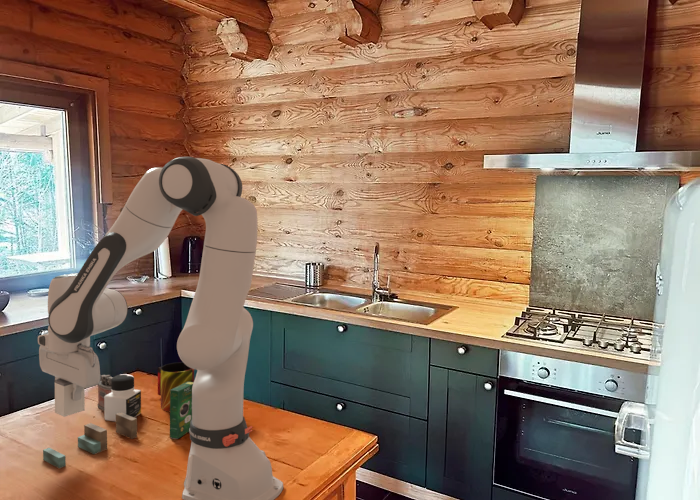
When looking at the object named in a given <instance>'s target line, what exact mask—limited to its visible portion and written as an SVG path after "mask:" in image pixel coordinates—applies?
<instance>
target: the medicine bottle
mask: <svg viewBox="0 0 700 500" xmlns="http://www.w3.org/2000/svg"><path fill="white" fill-rule="evenodd" d="M103 412H104V420H105V421H110V422H116V414H118V413H120V412H121V413H124V414H126V415H129V416H131V417H134V418H137V416H139V415H140V414H141V413H142V391H141V389H135V377H134V376H133V375H132V374H127V373H123V374H121V373H120V374H117V375H115V376H113V378H112V379H111V393H109V394H107V395H105V396H104V411H103Z"/></svg>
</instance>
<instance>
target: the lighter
mask: <svg viewBox="0 0 700 500" xmlns="http://www.w3.org/2000/svg"><path fill="white" fill-rule="evenodd" d="M113 377H114V376H113ZM113 377H112V376H111V374H102V375H101V374H100V382H99V384H98V385H97V394H98V395H97V399H98V400H97V408H98V409H100V410H102V411H103V412H105V411H104V396H105V395H107V394H109V393H111V379H112V378H113Z"/></svg>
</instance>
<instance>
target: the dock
mask: <svg viewBox="0 0 700 500" xmlns="http://www.w3.org/2000/svg"><path fill="white" fill-rule="evenodd" d="M83 428H84V431H83V432H84V434H83V435H80V436H78V437H77V447H78V448H80V449H82V450H84V451H86V452H88V453H90V454H92V455H96V454H99V453H101V452H104V451H106V450H108V430H107V429H106V428H103V427H101V426H100V425H97V424H94V423H92V422H90V423H86V424H84V425H83ZM115 433H117V434H119V435H122V436H124V437H125V438H129V439H131V440H133V439H136V438H138V419H137V417H131V416H129V415H126V414H124V413H121V412H120V413H118V414H116V421H115ZM66 457H67V456H66V455H65V454H63V453H61V452H60V451H57V450H56V449H53V448H51V447H47V448H45V449H43V450H42V460H43V461H45V462H46V463H48V464H50V465H52V466H54V467H56V469H57V468H58V469H62V468H64V467H66V465H67V464H66V463H67V462H66V460H67V459H66Z"/></svg>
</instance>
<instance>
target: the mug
mask: <svg viewBox="0 0 700 500" xmlns="http://www.w3.org/2000/svg"><path fill="white" fill-rule="evenodd" d="M194 380H195V369H192V368H190V367H188V366H187V365H185V364H184V363H183V361H181V362H171V363H167V364H164V365H162V366H159V367H157V395H158V396H160V408H161V410H163V411H165V412H168V413H170V390H171V389H173V388H175V387H177V386H180V385H182V384H184V383H186V382H194Z"/></svg>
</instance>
